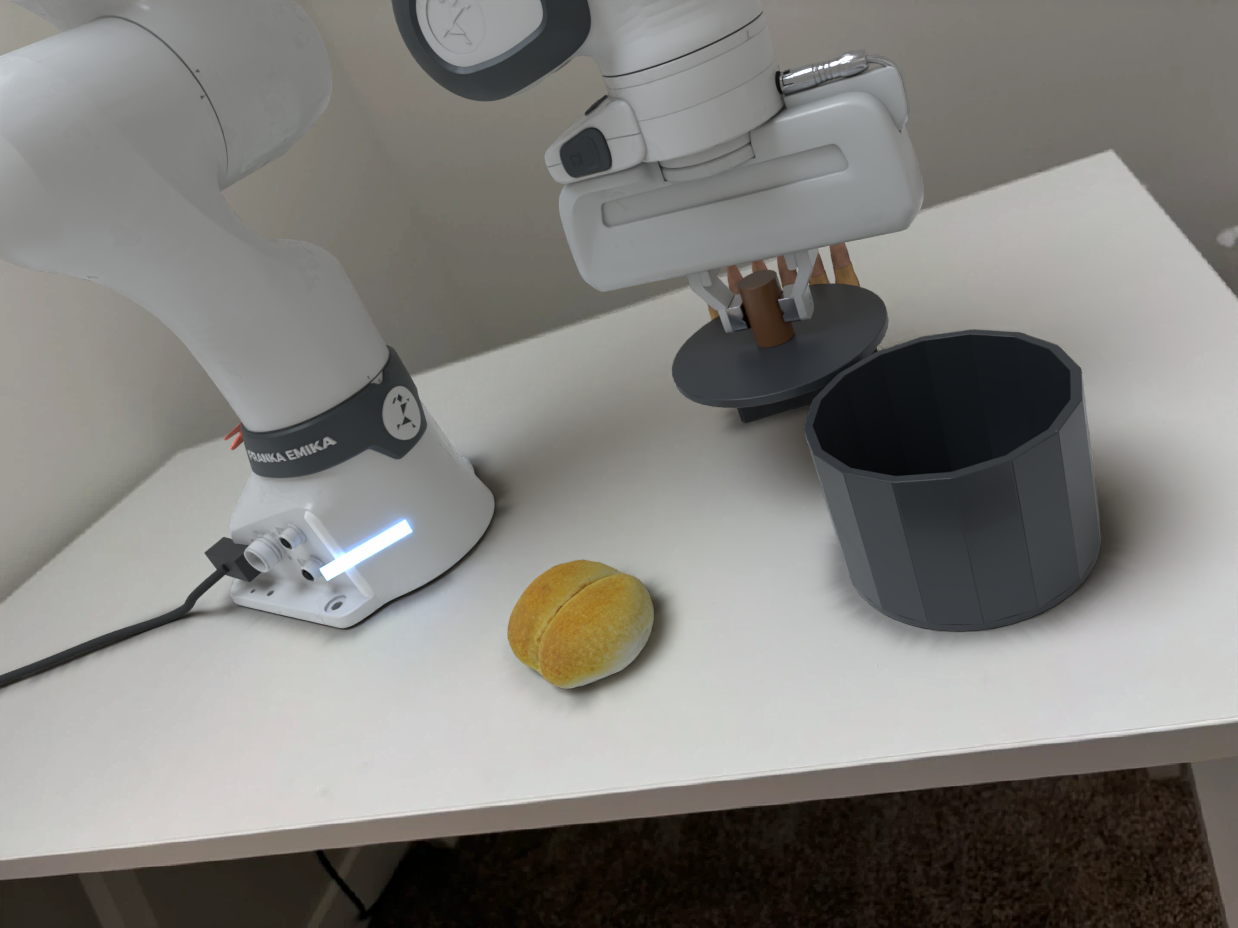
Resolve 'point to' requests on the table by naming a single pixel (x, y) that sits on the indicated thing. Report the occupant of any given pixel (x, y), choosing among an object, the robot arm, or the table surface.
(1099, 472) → the table surface
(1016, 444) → the pot
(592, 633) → the bread roll
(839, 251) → the ammunition clip
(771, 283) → the lid
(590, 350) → the table surface
